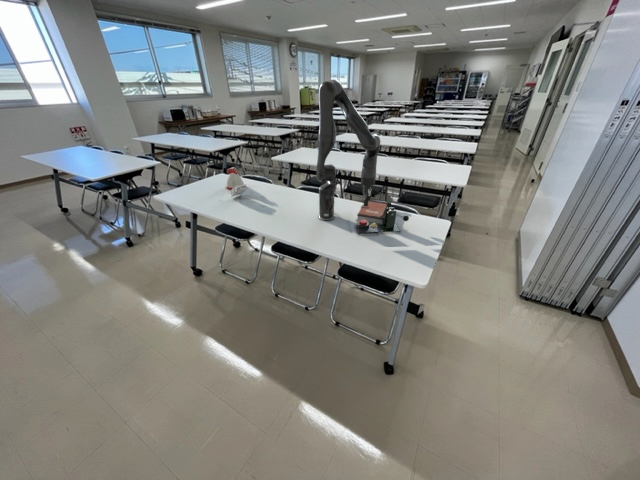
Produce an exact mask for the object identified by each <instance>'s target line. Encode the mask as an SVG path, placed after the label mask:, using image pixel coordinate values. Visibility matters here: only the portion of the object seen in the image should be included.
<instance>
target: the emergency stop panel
mask: <svg viewBox="0 0 640 480" xmlns="http://www.w3.org/2000/svg"><path fill="white" fill-rule="evenodd" d="M371 224H372V223H370V222H369V221H367V224H366V225H361V224H360V220H358V221H357V222H356V224H355V227H356V230H357V232H358V235H366V234H367V235H368V234H379V229H378V227H377V228H371V227H370V225H371Z"/></svg>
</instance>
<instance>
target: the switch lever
mask: <svg viewBox="0 0 640 480" xmlns="http://www.w3.org/2000/svg"><path fill="white" fill-rule="evenodd" d="M390 210H391V209H389V210H388V211H390ZM387 213H388V212H387ZM396 217H399V218H401V219H402V220H403V221H404V222H409V220H410V216H409V215H407V214H406V215H403V214H399V213H397V212H396Z"/></svg>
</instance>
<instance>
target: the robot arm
mask: <svg viewBox="0 0 640 480" xmlns="http://www.w3.org/2000/svg"><path fill="white" fill-rule="evenodd" d="M334 104H336V105H338V107H339V108H340V109H341V111H342V113H343V116H344V118H345V121H346V123H347V125H348V126H349V128H350V129H351V130H352V132H353V133H354V134H355V136H356V137H357V140H358V141H359V143H360V145H361V147H362V148H363V149H364V150H365V154H364V155H363V158H362V167H361V175H360V184H361V185H362V197H363V204H362V205H364V206H368V200H371V198H372V190H373V189H372V187H373V186H375V184H376V177H377V165H378V156H379V152H380V149H381V148H380V147H381V138H380V136H379V135H377V134H376V133H371V132H370V130H369V125H368V124H367V122H366V121H365V120H364V118H363V117H362V115H361V114H360V113H359V111H358V110H357V109H356V108H355V106H354V104H353V103H352V101H351V99H350V97H349V96H348V94H347V92H346V90H345V88H344V87H343V85H342V84H341V82H340V81H339V80H337V79H334V78H333V79H328V80H325V81H323V82H322V83H320V86H319V89H318V105H319V119H318V120H319V122H318V124H319V125H318V150H317V162H316V169H315V175H316V180H317V181H318V182H322V183H323V182H325V183H324V184H322V185H320V186H319V187H318V211H319V212H318V218H319V219H320V220H322V221H331V220H334V218H335V189H336V179H337V178H336V177H337V169H336V166H335V165H334V164H331V163H329V164H326V161H327V158H328V156H329V154H330V153H331V152H332V150H333V149H334V147H335V145H336V142H337V126H336V123H335V119H334Z"/></svg>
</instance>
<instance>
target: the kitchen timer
mask: <svg viewBox="0 0 640 480" xmlns="http://www.w3.org/2000/svg"><path fill="white" fill-rule="evenodd" d="M227 173H228V175H227V177H226V182H225V187H226V189H227V190H229V191H231V190H232V189H233V188H235V187H236V186H239V185H243V184H245V183H244V180H243V178H242V177H241V175H239V174H238V171H236V169H234V168H228V169H227Z"/></svg>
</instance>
